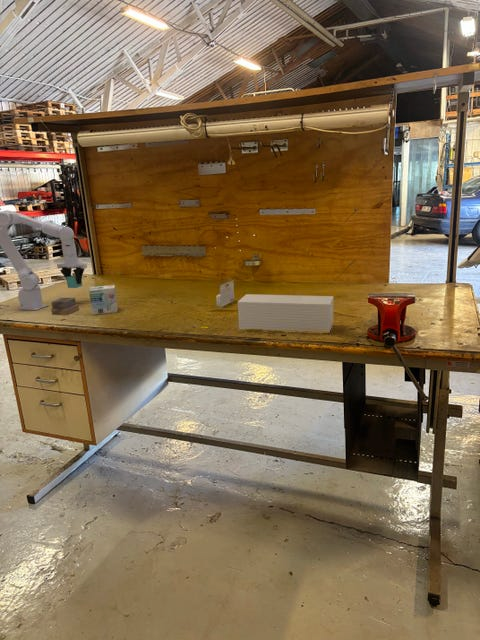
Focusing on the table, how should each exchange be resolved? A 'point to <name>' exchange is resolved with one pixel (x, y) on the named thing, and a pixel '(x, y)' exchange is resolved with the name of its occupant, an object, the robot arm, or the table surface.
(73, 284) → the teal block
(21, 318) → the table surface
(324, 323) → the stack of papers
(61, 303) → the top slab
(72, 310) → the bottom slab
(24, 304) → the robot arm
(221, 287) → the ink cartridge box
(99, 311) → the light bulb box
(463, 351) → the table surface
